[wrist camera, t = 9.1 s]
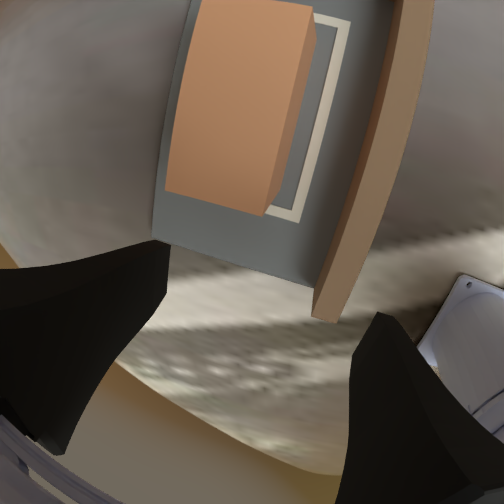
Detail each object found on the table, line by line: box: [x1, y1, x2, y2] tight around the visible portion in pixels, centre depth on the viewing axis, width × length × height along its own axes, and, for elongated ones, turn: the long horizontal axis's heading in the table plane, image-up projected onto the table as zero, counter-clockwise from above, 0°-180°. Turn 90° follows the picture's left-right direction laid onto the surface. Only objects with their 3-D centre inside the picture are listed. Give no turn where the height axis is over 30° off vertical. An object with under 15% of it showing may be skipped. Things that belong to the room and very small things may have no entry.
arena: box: [151, 0, 435, 324], centre depth 14 cm, size 13×20×4 cm, turn 168°
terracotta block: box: [165, 0, 317, 217], centre depth 13 cm, size 9×4×5 cm, turn 168°
